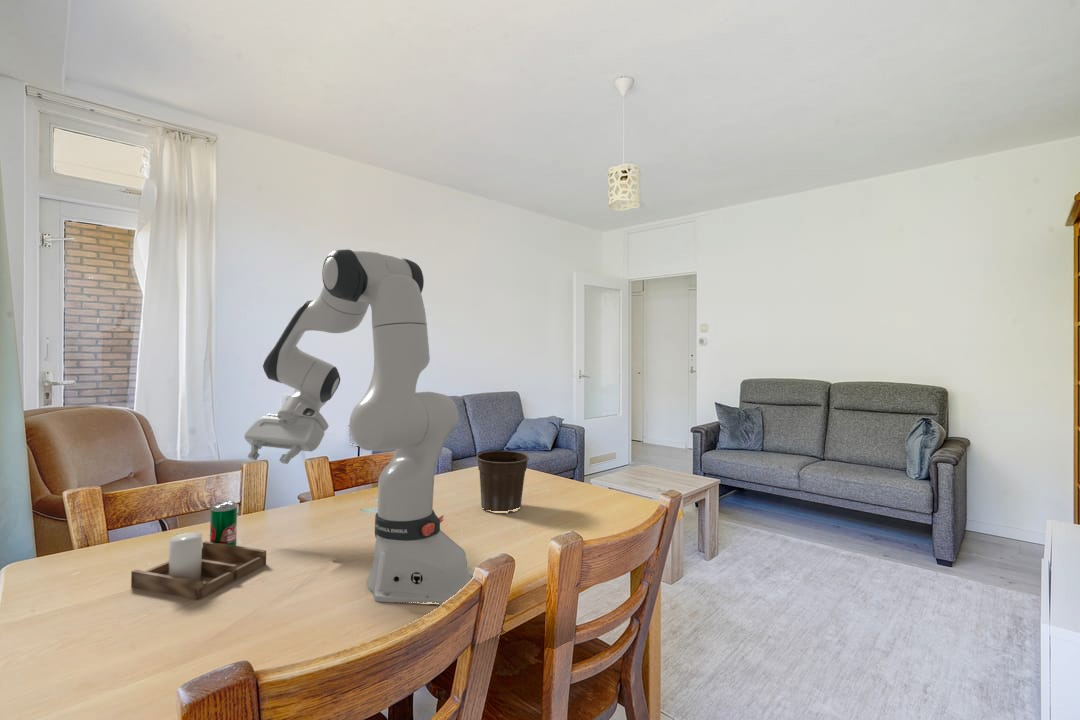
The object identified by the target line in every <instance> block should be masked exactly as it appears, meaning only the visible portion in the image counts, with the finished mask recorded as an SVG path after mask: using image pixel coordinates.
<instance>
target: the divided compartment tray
mask: <svg viewBox="0 0 1080 720" xmlns="http://www.w3.org/2000/svg"><path fill="white" fill-rule="evenodd" d="M266 565H267V550H265V549H259V548H253V547H246V546H240V545H236V546H234V545H227V544H221V543H214V542H210V541H207V540H205V541H202V566H201V581H197V580H191V579H186V578H180V577H174V576H169V560H168V561H165V562H163V563H161V564H159V565H157V566H153V567H150V568H149V569H146V570H141V569H134V570H132V571H131V572H130V573H131V575H130V577H131V578H130V579H131V581H130V582H131V583H130V584H131V585H130V587H131V588H132V589H139V590H142V591H149V592H155V593H159V594H165V595H169V596H170V595H171V596H175V597H180V598H186V599H191V600H196V601H200V600H202V599H204V598H205V597H207V596H209V595H211V594H213V593H215V592H216V591H219V590H221V589H222V588H225V587H227V586H228V585H230V584H232V583H234V582H236V581H238V580H240V579H242V578H243V577H245V576H248V575H249V574H251V573H253V572H255V571H257V570H258V569H260V568H262V567H264V566H266Z"/></svg>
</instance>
